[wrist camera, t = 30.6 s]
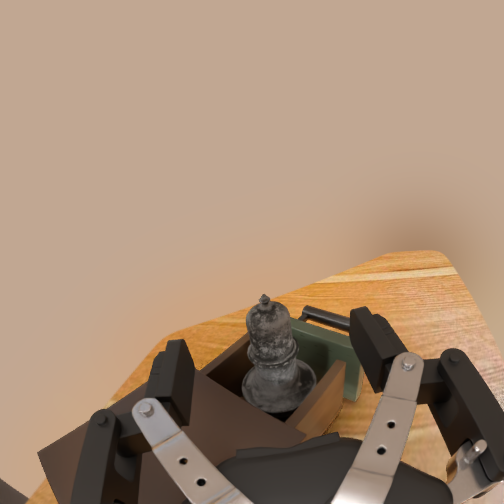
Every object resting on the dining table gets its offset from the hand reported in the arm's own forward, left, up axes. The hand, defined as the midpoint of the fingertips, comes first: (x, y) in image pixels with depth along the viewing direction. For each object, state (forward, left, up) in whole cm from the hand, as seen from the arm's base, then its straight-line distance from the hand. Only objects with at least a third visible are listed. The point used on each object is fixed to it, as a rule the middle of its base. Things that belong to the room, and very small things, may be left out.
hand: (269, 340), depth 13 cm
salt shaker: (0, +5, -12) cm, 13 cm away
